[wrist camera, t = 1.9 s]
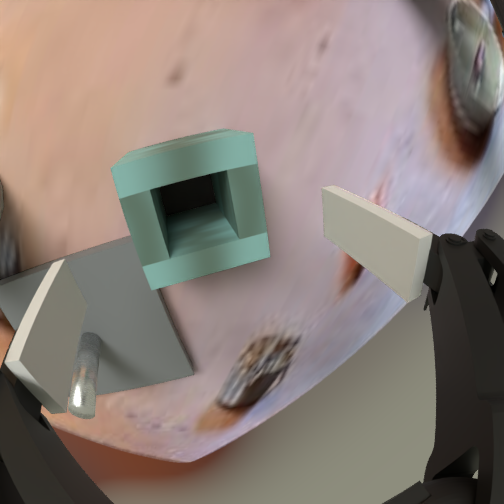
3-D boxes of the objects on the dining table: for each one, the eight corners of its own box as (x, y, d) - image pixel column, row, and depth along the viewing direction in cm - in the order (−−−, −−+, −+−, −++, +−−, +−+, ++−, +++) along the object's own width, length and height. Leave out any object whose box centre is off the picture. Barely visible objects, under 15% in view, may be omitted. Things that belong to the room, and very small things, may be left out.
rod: (95, 330, 24) (85, 402, 17) (105, 346, 25) (100, 417, 18) (76, 334, 24) (62, 405, 16) (87, 350, 25) (78, 419, 17)
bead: (223, 128, 22) (253, 133, 15) (239, 216, 25) (270, 256, 19) (128, 152, 20) (110, 168, 13) (152, 239, 24) (151, 290, 17)
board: (138, 233, 23) (137, 239, 22) (192, 365, 32) (194, 374, 31) (-5, 282, 20) (-10, 289, 18) (71, 390, 29) (70, 398, 27)
